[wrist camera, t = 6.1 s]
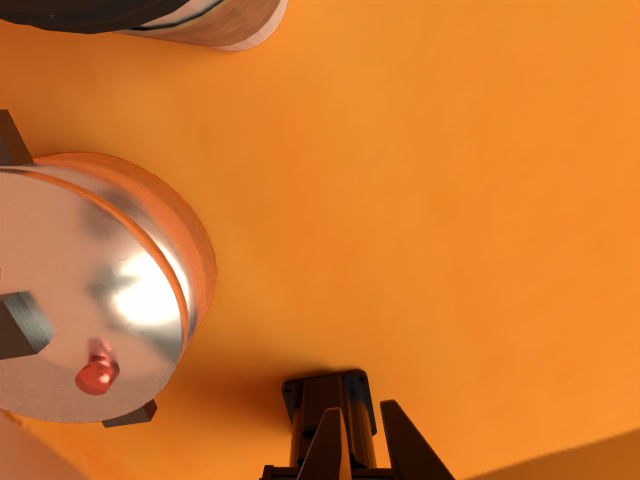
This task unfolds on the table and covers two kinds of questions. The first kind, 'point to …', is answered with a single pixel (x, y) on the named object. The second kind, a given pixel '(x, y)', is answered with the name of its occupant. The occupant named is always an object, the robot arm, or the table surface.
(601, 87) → the table surface
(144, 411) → the pot
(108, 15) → the coffee cup
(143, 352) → the lid
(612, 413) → the table surface
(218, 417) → the table surface
